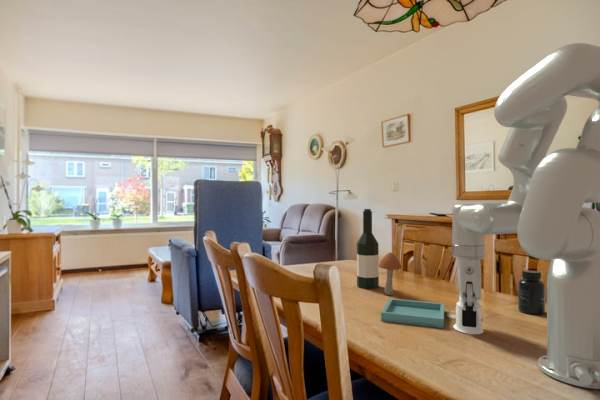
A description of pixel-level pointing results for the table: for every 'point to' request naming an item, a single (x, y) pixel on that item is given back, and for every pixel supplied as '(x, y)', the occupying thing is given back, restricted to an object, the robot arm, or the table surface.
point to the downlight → (458, 325)
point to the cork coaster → (451, 315)
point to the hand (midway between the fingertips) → (468, 321)
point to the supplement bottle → (531, 293)
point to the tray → (414, 313)
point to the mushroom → (389, 270)
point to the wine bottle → (367, 255)
